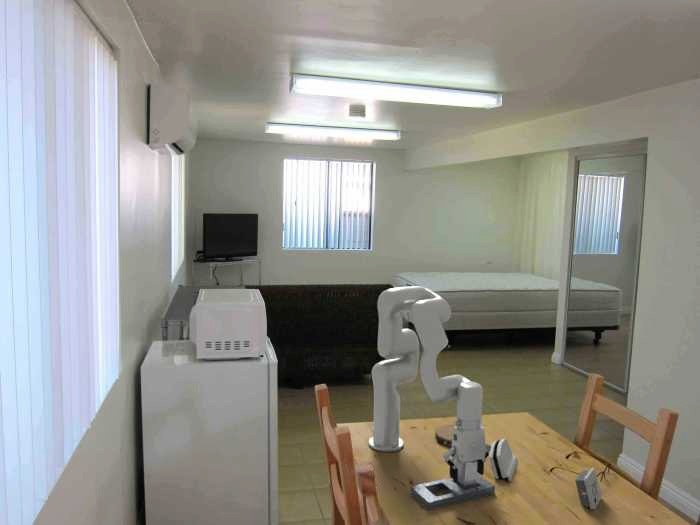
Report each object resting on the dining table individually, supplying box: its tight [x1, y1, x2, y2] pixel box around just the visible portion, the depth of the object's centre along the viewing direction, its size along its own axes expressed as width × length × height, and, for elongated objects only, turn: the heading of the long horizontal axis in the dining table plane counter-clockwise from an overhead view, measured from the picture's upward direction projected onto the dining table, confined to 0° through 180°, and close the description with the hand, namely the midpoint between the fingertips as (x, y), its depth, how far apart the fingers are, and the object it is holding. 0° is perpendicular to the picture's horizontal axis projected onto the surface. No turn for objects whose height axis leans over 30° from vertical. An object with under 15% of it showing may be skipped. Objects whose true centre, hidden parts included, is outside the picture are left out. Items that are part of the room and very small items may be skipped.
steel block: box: [456, 460, 478, 490], centre depth 174 cm, size 4×4×10 cm
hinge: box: [489, 438, 518, 482], centre depth 189 cm, size 17×5×10 cm, turn 156°
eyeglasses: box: [549, 451, 612, 483], centre depth 188 cm, size 16×16×4 cm
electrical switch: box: [575, 467, 602, 511], centre depth 169 cm, size 9×5×9 cm, turn 143°
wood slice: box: [434, 423, 455, 448], centre depth 212 cm, size 16×16×3 cm
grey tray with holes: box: [410, 473, 496, 511], centre depth 172 cm, size 10×24×2 cm, turn 115°
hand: (466, 476), depth 174 cm, fingers open, 9 cm apart
